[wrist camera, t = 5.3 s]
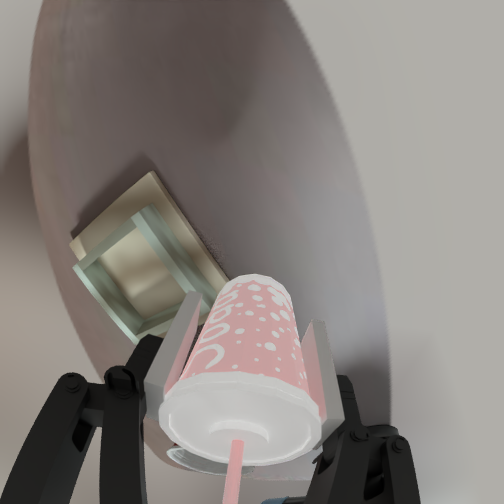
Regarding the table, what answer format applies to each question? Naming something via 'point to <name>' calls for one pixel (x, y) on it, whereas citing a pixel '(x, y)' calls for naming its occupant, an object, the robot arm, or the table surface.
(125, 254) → the cup stand
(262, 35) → the table surface
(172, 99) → the table surface
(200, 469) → the plastic cup
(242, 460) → the beverage cup
